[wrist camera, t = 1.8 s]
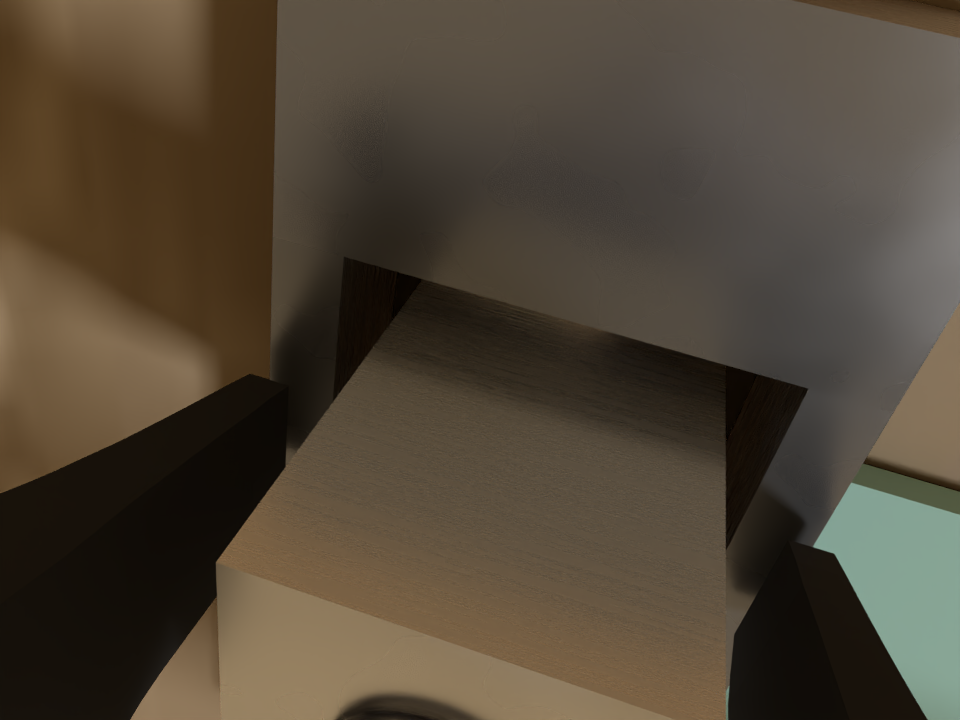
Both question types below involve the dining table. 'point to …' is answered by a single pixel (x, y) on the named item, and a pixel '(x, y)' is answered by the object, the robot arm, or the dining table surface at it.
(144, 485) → the robot arm
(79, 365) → the dining table surface
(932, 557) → the mat
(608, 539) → the cube with screw head
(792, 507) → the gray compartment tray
